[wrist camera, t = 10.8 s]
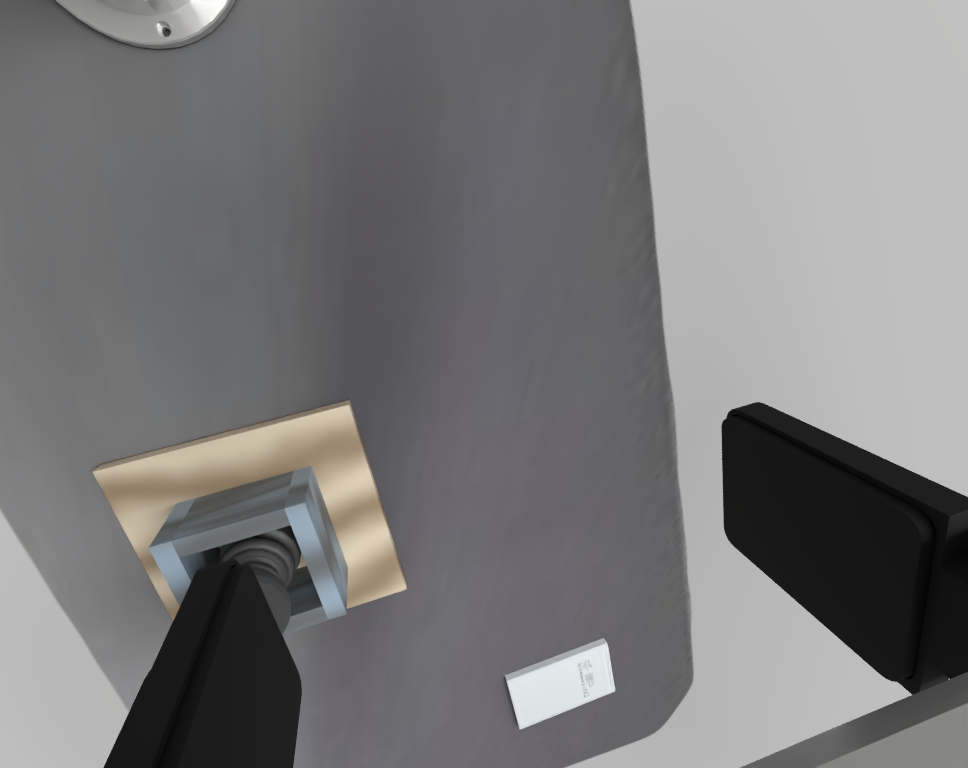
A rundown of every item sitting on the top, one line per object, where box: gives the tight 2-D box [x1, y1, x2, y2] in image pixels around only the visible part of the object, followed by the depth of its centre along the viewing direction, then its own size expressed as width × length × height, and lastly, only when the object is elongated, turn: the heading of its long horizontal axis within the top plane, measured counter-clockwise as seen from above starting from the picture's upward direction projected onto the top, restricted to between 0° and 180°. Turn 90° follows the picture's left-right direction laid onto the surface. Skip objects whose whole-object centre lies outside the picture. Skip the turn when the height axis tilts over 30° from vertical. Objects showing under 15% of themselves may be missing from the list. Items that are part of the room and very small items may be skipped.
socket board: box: [93, 400, 407, 635], centre depth 42 cm, size 20×20×7 cm
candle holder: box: [219, 525, 301, 635], centre depth 32 cm, size 6×6×25 cm
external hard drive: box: [505, 638, 615, 730], centre depth 59 cm, size 2×8×12 cm
